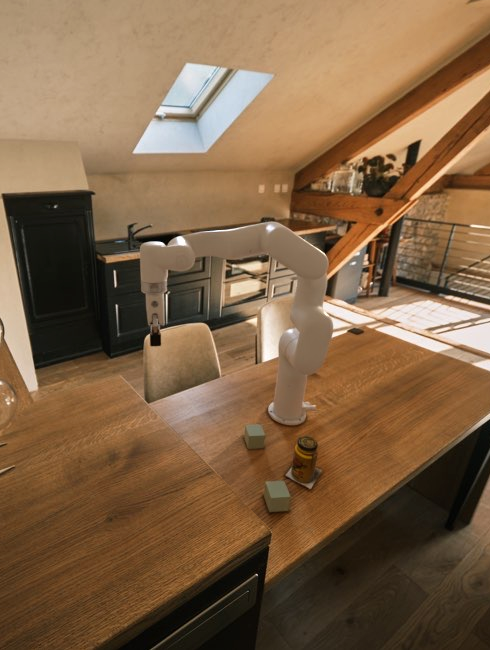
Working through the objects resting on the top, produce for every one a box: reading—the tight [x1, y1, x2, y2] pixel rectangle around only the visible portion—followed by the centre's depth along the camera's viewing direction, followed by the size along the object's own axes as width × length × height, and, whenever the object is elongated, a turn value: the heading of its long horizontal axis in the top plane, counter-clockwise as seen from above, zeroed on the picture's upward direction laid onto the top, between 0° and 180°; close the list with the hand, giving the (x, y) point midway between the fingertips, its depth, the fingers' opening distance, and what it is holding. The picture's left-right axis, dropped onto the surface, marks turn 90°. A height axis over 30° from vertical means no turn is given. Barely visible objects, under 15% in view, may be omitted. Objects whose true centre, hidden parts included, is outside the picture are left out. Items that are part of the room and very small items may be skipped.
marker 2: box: [263, 480, 292, 513], centre depth 98 cm, size 5×5×5 cm
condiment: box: [284, 435, 323, 490], centre depth 106 cm, size 7×8×12 cm
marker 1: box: [243, 423, 266, 450], centre depth 118 cm, size 5×5×5 cm
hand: (155, 338), depth 117 cm, fingers open, 9 cm apart
